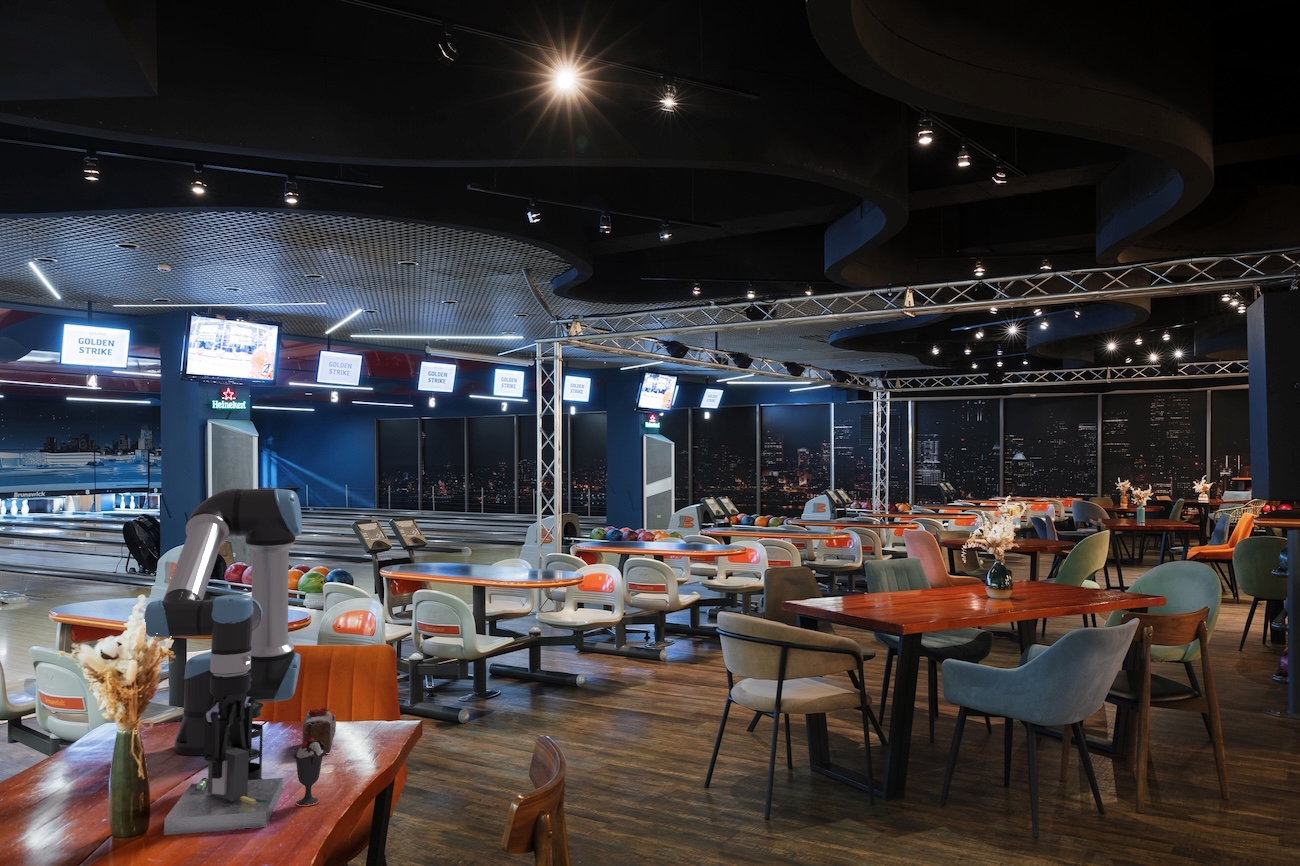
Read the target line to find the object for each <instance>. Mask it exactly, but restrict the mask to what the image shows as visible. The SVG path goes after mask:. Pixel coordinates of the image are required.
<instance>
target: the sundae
mask: <svg viewBox="0 0 1300 866" xmlns="http://www.w3.org/2000/svg"><path fill="white" fill-rule="evenodd" d="M304 735H305V736H306V735H307V732H306V733H304ZM307 737H308V736H307ZM308 738H309V739H308V740H307V741H306V742H305V738H304V742H303V743H301V747H299V749H298V750H297V751H296V752H294V753H292V755H291V756H292V757H293V758H294V759H295V762H296V763H295V764H296V772H297V773H296V774H297V778H298V781H299V783H300V784H301V785H302V786H304V787H305V793H304V796H303V798H301V800H300V799H299V801H298V800H296V802H295V803H297V804H299V805H308V804H313V803H316V802H317V801H318V799H319V798H318V797H313V794H312V786H313V785H315V784H316V782H318V780H319V777H320V774H321V768H322V767H321V766H322V761H323V758H324V756H325V757H326V755H325V754H326V751H325V750H322V749H323V748H324V744H323V743H322V742H321V741H320V740H317V741H316V740H314V739H313V738H310V737H308ZM317 798H318V799H317Z"/></svg>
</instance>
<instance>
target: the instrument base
mask: <svg viewBox="0 0 1300 866" xmlns="http://www.w3.org/2000/svg"><path fill="white" fill-rule="evenodd" d="M283 781H284V779H283V777H278V778H262V779H259V780H248V795H247V797H248V798H251V799H254V800H256V803H255V804H250V803H247V802H244V801H241V800H240V799H239V800H236V801H231V800H228V799H225V798H222V797H220V796H217V795H214V794H211V793H208V777H202V778H201V779H200V781H199V782H198V783H191V784H190V785H189V787H187V789H186V790H185V791H184V793H183V794H182V795H181V797H180V798H179V800H178V801H177V802H176V803H175V805H174V806H173V807H172V809H171V810H170V811H169V812H168V813H167V815H166V816H165V818H164V821H163V824H164V825H163V826H164V827H163V836H169V835H170V836H171V835H182V834H183V835H185V834H194V833H195V834H197V833H210V832H223V831H233V830H235V831H236V829H238V830H246V829H245V828H251V829H260V828H261V829H262V827H264V828H267V825H268V824H267V823H269V822H268V821H270V820H271V818H272V817H271V816H272V815H273V813H274V811H273V810H275V809H274V808H276V807H275V806H277V805H278V802H279V800H280V798H279V797H281V796H282V794H283V783H284V782H283ZM281 793H282V794H281ZM280 795H281V796H280ZM276 804H277V805H276ZM272 812H273V813H272Z"/></svg>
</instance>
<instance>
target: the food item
mask: <svg viewBox="0 0 1300 866" xmlns="http://www.w3.org/2000/svg"><path fill="white" fill-rule="evenodd" d="M330 710H331V708H330V707H329V708H328V709H327V708H326V707H322V708H319V709H318V708H315V709H310V710H308V711H306V714H305V717H304V720H303V725H302V729H301V732H302V735H301V736H302V739H301V742H302V743H303V742H304V738H305V742H306V741H307V740H308V739H309V738H308V737H310V738H313V739H314V740H316V741H317V740H320V741H321V742H322V743H323V744H324V748H323V749H322V750H325V751H326V753H329V754H330V752H331V749H332V748H331V746H332V747H333V741H334V738H335V735H336V732H337V731H336V730H337V729H336V728H337V722H336V721H337V720H336V714H333V713H332V711H330ZM306 732H307V735H306V736H305V735H304V733H306ZM307 736H308V737H307ZM302 743H301V744H302Z"/></svg>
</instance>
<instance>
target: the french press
mask: <svg viewBox="0 0 1300 866" xmlns="http://www.w3.org/2000/svg"><path fill="white" fill-rule="evenodd" d="M252 680H253V679H252V678H251V681H252ZM263 708H264V703H263V702H255V703H254V707H253V719H257V718H259V717H261V716H262V709H263ZM263 728H264V726H263V725H261V724H259V723H252V739H254V738H258V737H259V749H255V748H252V746H253V745H252V743H251V745H250V746H247V747H249V760H248V780H259V779H263V778H262V774H263V773H262V770H263V769H262V768H263V767H262V765H263V738H264V737H263V734H264V732H263V731H264V729H263ZM229 732H230V728H229ZM245 740H246V738H245ZM228 741H231V736H230V734H229V735H228ZM231 746H232V744H231ZM255 759H256V760H257V759H258V762H252V761H253V760H255Z"/></svg>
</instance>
